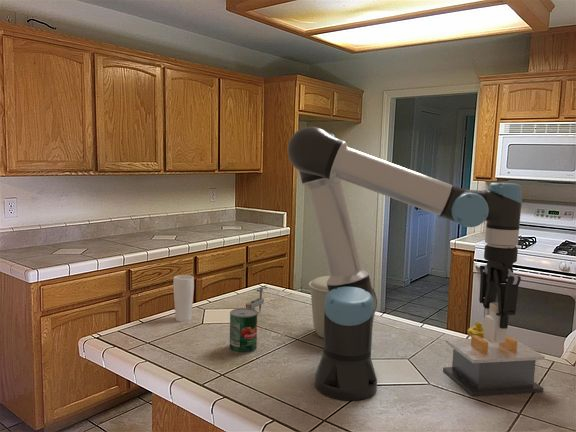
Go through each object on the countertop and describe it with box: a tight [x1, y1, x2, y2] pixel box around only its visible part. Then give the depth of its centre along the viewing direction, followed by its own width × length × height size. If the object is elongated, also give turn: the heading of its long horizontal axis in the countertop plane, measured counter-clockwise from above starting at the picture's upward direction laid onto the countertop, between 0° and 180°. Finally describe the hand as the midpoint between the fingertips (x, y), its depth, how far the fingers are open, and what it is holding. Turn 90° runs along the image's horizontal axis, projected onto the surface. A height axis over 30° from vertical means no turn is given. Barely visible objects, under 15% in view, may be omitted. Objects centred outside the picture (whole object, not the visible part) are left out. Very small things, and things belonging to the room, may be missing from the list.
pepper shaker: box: [483, 301, 505, 343], centre depth 120 cm, size 4×4×10 cm
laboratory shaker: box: [442, 334, 546, 397], centre depth 121 cm, size 19×14×11 cm
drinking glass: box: [172, 274, 195, 323], centre depth 161 cm, size 7×7×15 cm
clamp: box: [245, 286, 268, 313], centre depth 168 cm, size 15×2×10 cm, turn 160°
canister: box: [308, 275, 330, 339], centre depth 150 cm, size 18×18×21 cm
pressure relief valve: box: [467, 321, 484, 338], centre depth 134 cm, size 6×12×10 cm, turn 51°
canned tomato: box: [229, 307, 258, 354], centre depth 138 cm, size 8×8×11 cm
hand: (494, 336), depth 120 cm, fingers closed on pepper shaker, 4 cm apart
